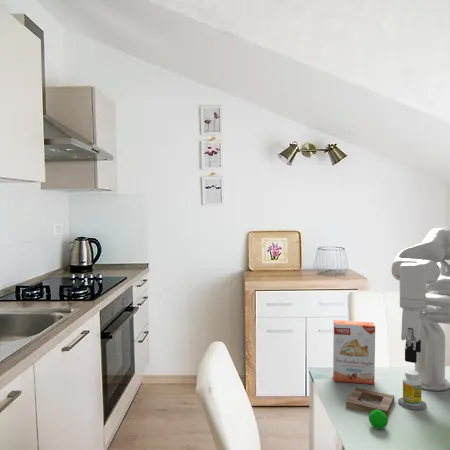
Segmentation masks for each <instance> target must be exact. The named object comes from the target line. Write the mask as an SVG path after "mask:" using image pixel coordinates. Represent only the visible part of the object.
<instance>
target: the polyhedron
mask: <svg viewBox="0 0 450 450" xmlns="http://www.w3.org/2000/svg"><path fill="white" fill-rule="evenodd" d="M368 414H369V413H368ZM368 421H369V423H370V426H372V427H374V428H376V429H377V430H381V429H385V428H386V427H387V426H388V424H389V418H388V417H387V416H386V414H385V413H384V412H383V411H381V410H379V409H377V410H373V411H372V412H371V413H370V414H369V415H368Z"/></svg>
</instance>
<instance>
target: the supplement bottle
mask: <svg viewBox="0 0 450 450" xmlns="http://www.w3.org/2000/svg"><path fill="white" fill-rule="evenodd" d="M404 376H405V377H404V378H402V379H403V380H402V397H403V402H404V403H405V404H407V405H410V406H420V405H421V400H422V389H423V388H422V383H421V380H420V379H419V373H418V372H416V371H415V370H410V369H409V370H405V372H404ZM422 401H423V400H422Z"/></svg>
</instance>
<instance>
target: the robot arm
mask: <svg viewBox="0 0 450 450" xmlns="http://www.w3.org/2000/svg"><path fill="white" fill-rule="evenodd" d="M447 261H450V227H436V228H432V229H431V230H429V231H428V233H427V235H426V236H425V237H424V239H423V240H422V241H421V243H418V244H415V245H413V246H410V247H407V248H405V249H403V250H401V251H400V252H399V253H398V254H397V255H396V257H395V258H394V260H393V262H392V264H391V274H392V277H393V278H394V279H395V280H397V281H399V308H401V309H402V312H401V337H400V339H401V341H404V340H405V347H404V361H405V362H407V363H414V371H416V372H418V373H419V379H420V380H421V383H422V389H424V390H427V391H433V392H434V391H436V392H439V391H440V392H442V391H447V390H449V389H450V381H448V380H447V379H446V334H445V331H444V329H443V327H442V326H440V324H445V325H450V264H449V262H447Z"/></svg>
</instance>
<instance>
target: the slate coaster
mask: <svg viewBox="0 0 450 450" xmlns="http://www.w3.org/2000/svg"><path fill="white" fill-rule="evenodd" d="M397 404H398V405H399V406H401V407H402V408H404V409H407V410H410V411H423V410H426V409H427V404H426V402H425V401H424V400H421V405H420V406H410V405H407V404H405V403H404V402H403V396H402V397H400V398H398V400H397Z"/></svg>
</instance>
